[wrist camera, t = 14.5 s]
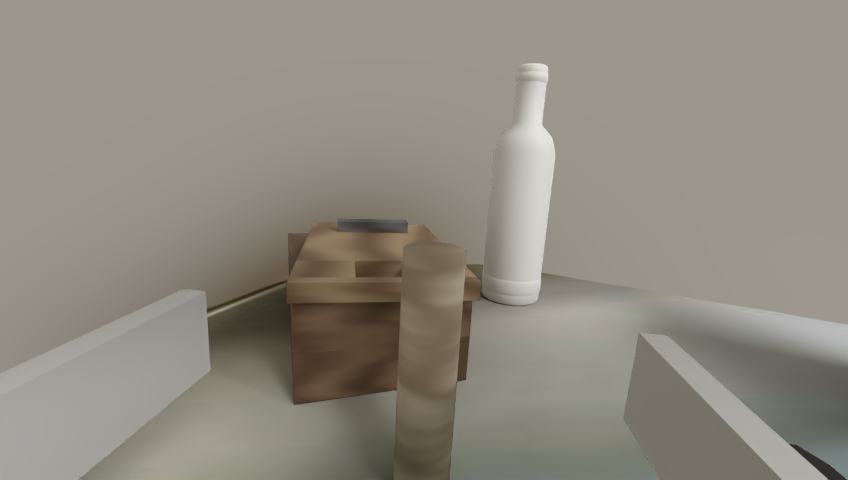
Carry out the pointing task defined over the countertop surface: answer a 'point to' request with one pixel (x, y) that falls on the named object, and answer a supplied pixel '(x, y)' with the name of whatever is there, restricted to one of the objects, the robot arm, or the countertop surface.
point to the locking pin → (428, 359)
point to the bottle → (520, 197)
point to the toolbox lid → (359, 262)
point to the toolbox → (349, 344)
